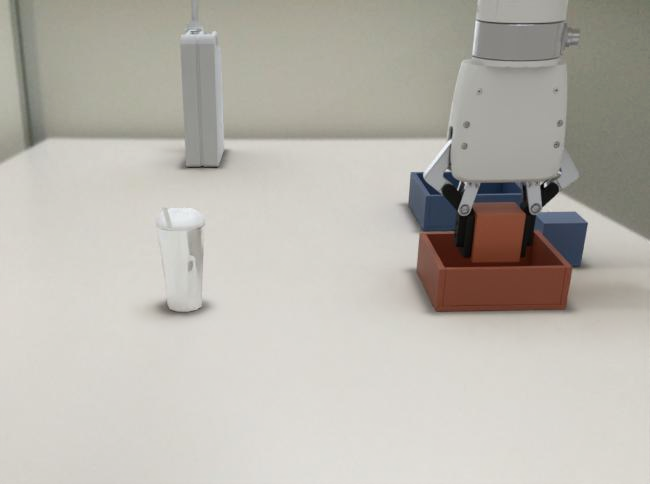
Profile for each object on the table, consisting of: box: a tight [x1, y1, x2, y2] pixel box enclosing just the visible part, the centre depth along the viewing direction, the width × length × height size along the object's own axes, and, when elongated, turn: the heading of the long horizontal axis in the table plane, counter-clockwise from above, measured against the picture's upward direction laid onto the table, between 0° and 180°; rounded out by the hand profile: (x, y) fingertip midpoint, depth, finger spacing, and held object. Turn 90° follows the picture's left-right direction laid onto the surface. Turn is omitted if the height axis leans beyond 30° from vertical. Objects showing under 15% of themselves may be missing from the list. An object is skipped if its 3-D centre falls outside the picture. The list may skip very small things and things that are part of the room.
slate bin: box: [407, 170, 522, 232], centre depth 117 cm, size 12×12×4 cm
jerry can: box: [179, 0, 225, 168], centre depth 143 cm, size 15×5×25 cm, turn 177°
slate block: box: [534, 210, 589, 267], centre depth 102 cm, size 4×4×4 cm
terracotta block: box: [469, 202, 526, 263], centre depth 93 cm, size 4×4×4 cm
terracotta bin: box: [415, 230, 574, 312], centre depth 95 cm, size 12×12×4 cm
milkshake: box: [155, 207, 206, 313], centre depth 90 cm, size 4×5×10 cm
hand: (491, 251), depth 94 cm, fingers closed on terracotta block, 4 cm apart
